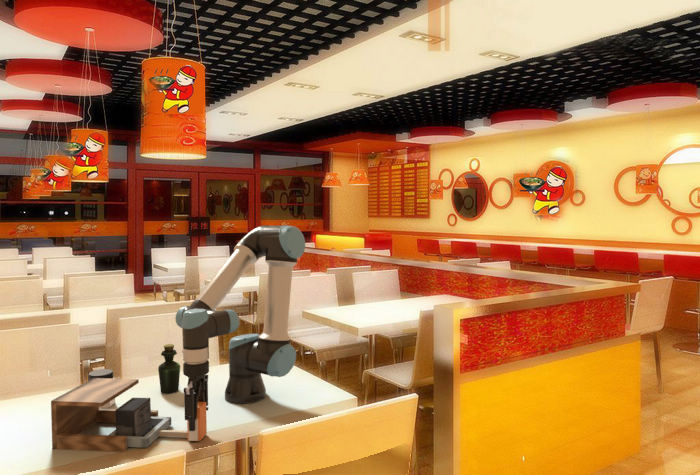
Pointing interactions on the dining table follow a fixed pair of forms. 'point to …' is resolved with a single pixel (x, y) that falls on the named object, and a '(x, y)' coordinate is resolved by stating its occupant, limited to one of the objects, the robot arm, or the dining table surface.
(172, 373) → the potion bottle
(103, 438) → the shelf lane
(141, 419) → the small box
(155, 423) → the grey and orange frame
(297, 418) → the dining table surface
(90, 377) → the jar
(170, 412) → the dining table surface
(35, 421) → the dining table surface
